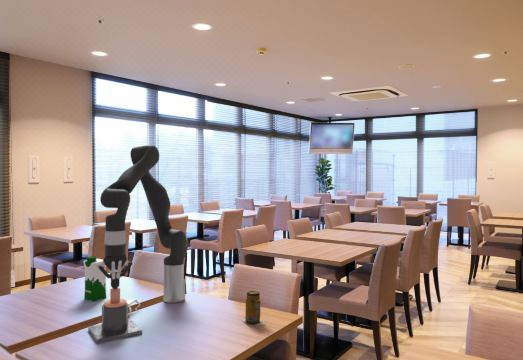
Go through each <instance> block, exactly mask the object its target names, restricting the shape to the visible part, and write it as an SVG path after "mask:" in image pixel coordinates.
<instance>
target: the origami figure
mask: <svg viewBox="0 0 523 360" xmlns="http://www.w3.org/2000/svg"><path fill="white" fill-rule="evenodd" d="M126 302H127V303H128V317H131V315H132V314H131V313H132V311H133V310H132V307H131V305H132V304H134V303H137V304H138V305H137V306H136V307H135V309H134V310H135V311H136V312H138V311H139V310H138V309H137V308H139V307H140V306H141V303H140V302H139V301H138V299H129V300H128V299H127V300H126Z"/></svg>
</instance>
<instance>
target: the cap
mask: <svg viewBox="0 0 523 360" xmlns="http://www.w3.org/2000/svg"><path fill="white" fill-rule="evenodd" d="M109 291H110V292H109V295H110V296H109V297H110V299H107V300H106V301H104V302H103V304H104V307H106V308H119V307H123V306H125V305H126V301H127V300H126V299H123V298H121V288H120V287H118V289H113V288H112V287H111V288H110V290H109Z"/></svg>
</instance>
